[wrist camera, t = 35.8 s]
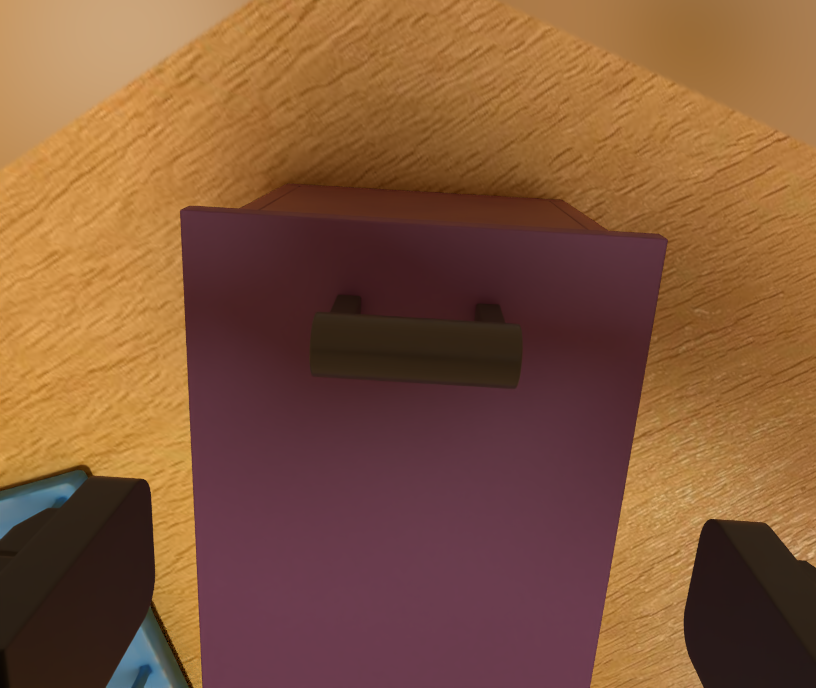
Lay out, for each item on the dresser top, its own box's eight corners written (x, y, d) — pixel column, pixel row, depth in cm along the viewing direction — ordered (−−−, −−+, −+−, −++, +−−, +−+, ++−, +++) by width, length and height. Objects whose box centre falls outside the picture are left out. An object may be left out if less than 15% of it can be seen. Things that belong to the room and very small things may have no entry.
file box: (286, 183, 36) (194, 230, 22) (563, 199, 36) (650, 257, 22) (284, 484, 41) (209, 681, 27) (527, 500, 41) (579, 705, 27)
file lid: (188, 205, 21) (118, 238, 16) (660, 233, 21) (726, 275, 16) (208, 681, 27) (162, 808, 22) (579, 706, 27) (611, 838, 22)
